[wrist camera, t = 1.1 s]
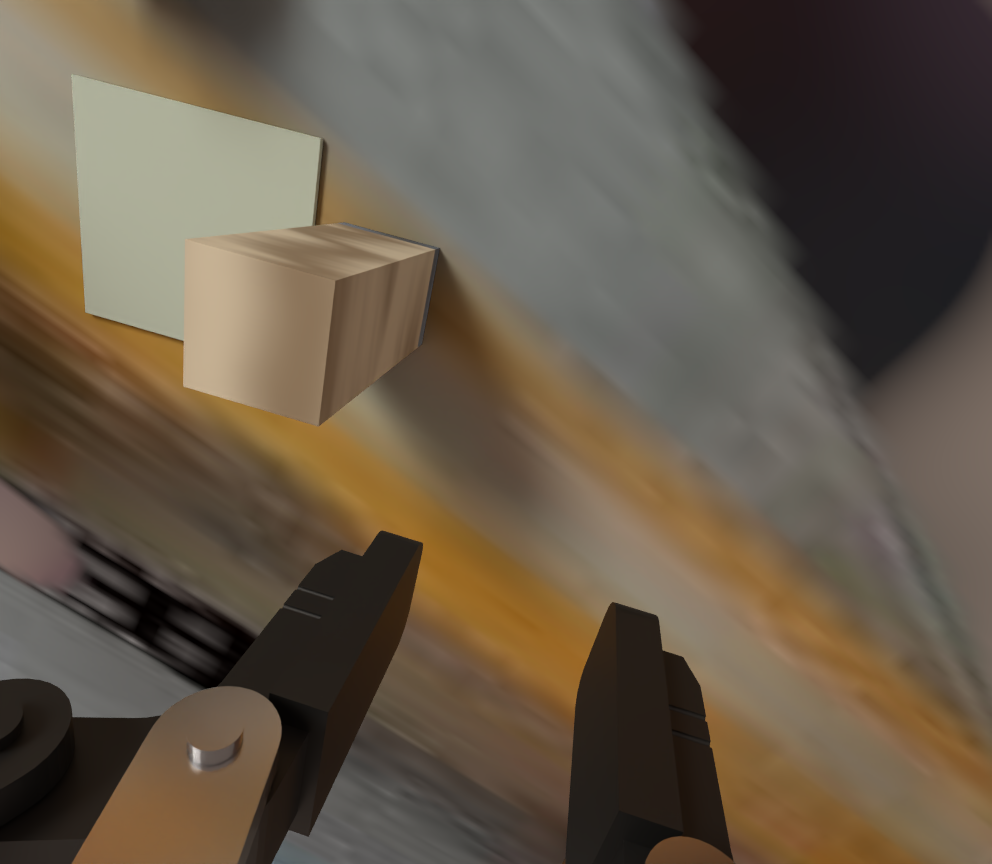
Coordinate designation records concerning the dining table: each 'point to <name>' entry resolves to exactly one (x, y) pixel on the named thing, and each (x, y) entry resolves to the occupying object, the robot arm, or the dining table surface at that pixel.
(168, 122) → the board
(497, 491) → the dining table surface
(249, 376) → the birch block
